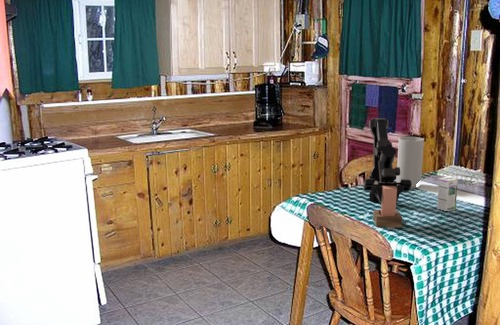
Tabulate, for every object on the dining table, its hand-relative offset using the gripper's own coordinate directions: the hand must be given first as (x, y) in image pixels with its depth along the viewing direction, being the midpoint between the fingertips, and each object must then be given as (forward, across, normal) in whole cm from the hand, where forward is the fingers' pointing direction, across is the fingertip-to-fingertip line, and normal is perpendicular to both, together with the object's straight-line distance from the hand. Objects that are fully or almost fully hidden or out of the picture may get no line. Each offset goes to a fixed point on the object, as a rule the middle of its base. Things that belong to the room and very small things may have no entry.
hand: (388, 202), depth 211 cm
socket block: (+5, 0, +7) cm, 9 cm away
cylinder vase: (-39, +21, +52) cm, 68 cm away
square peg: (+5, 0, +7) cm, 8 cm away
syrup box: (-9, +29, +23) cm, 38 cm away
